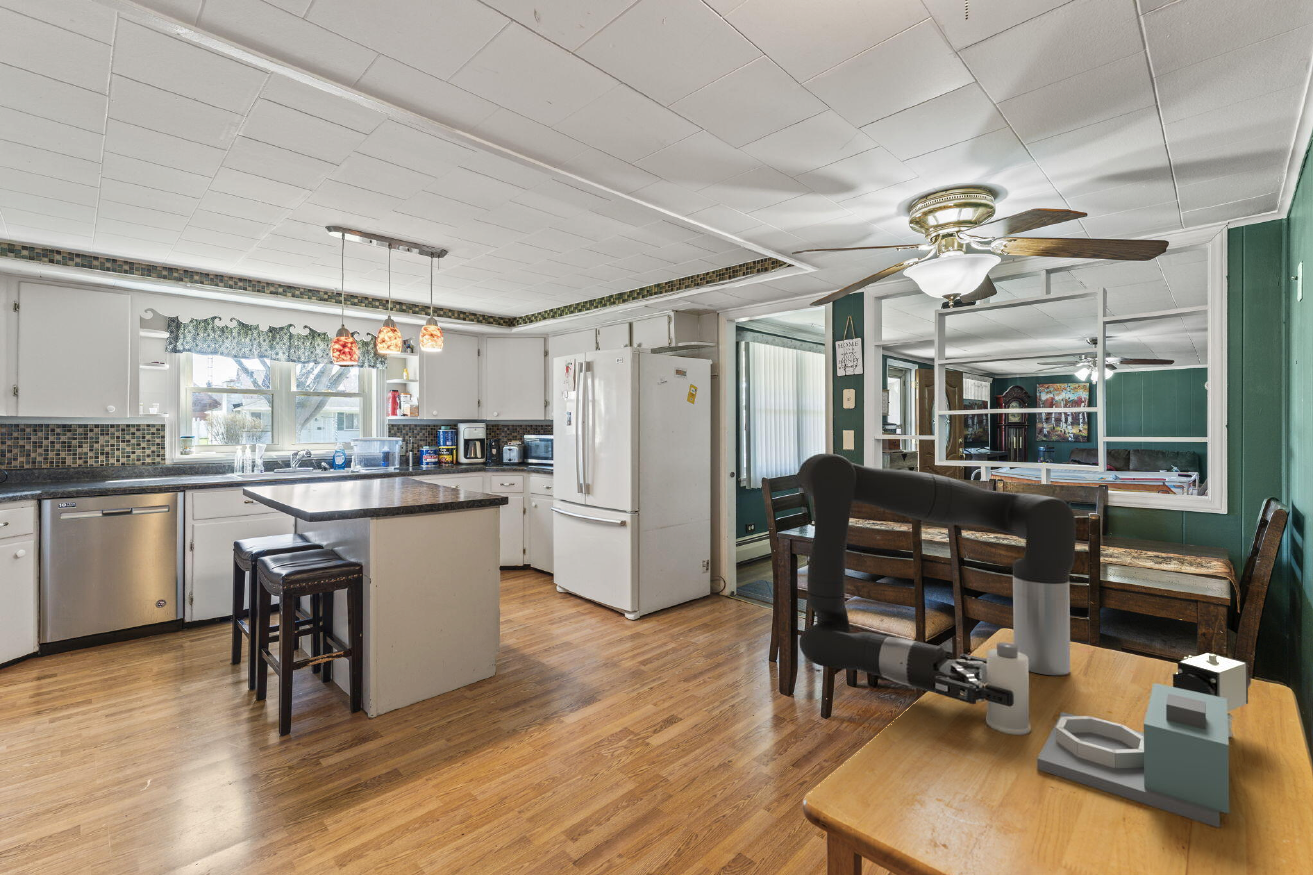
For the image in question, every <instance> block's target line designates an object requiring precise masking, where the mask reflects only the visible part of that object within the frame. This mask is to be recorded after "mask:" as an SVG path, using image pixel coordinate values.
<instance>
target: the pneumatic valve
mask: <svg viewBox="0 0 1313 875" xmlns="http://www.w3.org/2000/svg"><path fill="white" fill-rule="evenodd" d="M1251 684H1252V679H1251V676H1250V673H1249V663H1248V662H1247V661H1243V660H1239V659H1236V658H1231V657H1228V656H1224V655H1220V654H1215V653H1212V652H1206V653H1204V654H1200V655H1197V656H1193V655H1188V656H1184V657H1183V658H1182V660H1181V661H1178V662H1177V672H1176V673H1173V674H1172V687H1175V688H1180V689H1184V690H1189V691H1194V692H1198V693H1203V694H1208V695H1213V696H1217V697H1222V698H1227V717H1228V739H1229V738H1231V737H1234V732H1233V731H1232V728H1233V722H1232V720H1234V716H1233V714H1231V713H1230V712H1231V711H1233V710H1236V709H1238V708H1241V707H1244V706H1246V705H1248V704H1249V688H1250V687H1251Z"/></svg>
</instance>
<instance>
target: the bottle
mask: <svg viewBox="0 0 1313 875" xmlns="http://www.w3.org/2000/svg"><path fill="white" fill-rule="evenodd" d="M986 659H987V683H986V684H987V685H991V686H995V687H999V688H1003V689H1007V690H1011V691H1012V692H1013V694H1014V704H1013V705H1012V706H1011V707H1009V706H1005V705H1002V704H998V703H994V702H990V701H987V700H986V703H987V704H986V706H987V707H986V708H987V710H986V711H987V712H986V715H985V723H986V724H987V725H988V726H989V727H990V728H991V729H993V730H995V731H997V732H1000V733H1003V734H1006V735H1007V734H1008V735H1012V736H1023V735H1024V736H1025V735H1028V734H1030V732H1031V730H1032V728H1031V723H1030V699H1029V697H1030V696H1029V695H1030V694H1029V692H1030V691H1029V687H1030V686H1029V685H1030V684H1029V681H1030V680H1029V671H1028V657H1027V656H1026V655H1024V654H1022V653H1020V652H1018V647H1017V646H1016V645H1014V643H1009V642H997V643H996V648H991V649H990V648H989V649H988V650H987V651H986Z"/></svg>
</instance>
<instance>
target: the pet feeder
mask: <svg viewBox="0 0 1313 875" xmlns="http://www.w3.org/2000/svg"><path fill="white" fill-rule="evenodd" d="M1149 697H1150V698H1149V700H1148V705H1147V708H1146V713H1145V716H1144V720H1143V732H1141V731H1137V730H1134V729H1131V728H1129V727H1128V726H1126V725H1124V724H1120V723H1117V722H1113V721H1109V720H1105V719H1103V718H1098V717H1095V716H1089V715H1083V716H1082V715H1080V716H1079V715H1076V714H1071V713H1069V712H1064V711H1061V712H1060V715H1059V717H1058V719H1057V721H1056V722H1055V725H1054V727H1053V728H1052V730H1051V732H1050V734H1049V736H1048V738H1047V739H1046V741H1045V743H1044V745H1043V747H1042V749H1041V751H1040V752H1039V754H1038V757H1037V758H1036V759H1037V760H1036V761H1037V762H1036V763H1037V764H1036V766H1037V770H1039V771H1041V772H1045V773H1048V774H1052V775H1053V776H1056V777H1060V778H1064V779H1066V780H1068V781H1073V782H1075V783H1078V784H1082V785H1085V786H1088V787H1092V788H1095V789H1096V790H1097V789H1098V790H1099V791H1103V792H1107V793H1109V794H1113V795H1116V796H1120V797H1122V798H1125V799H1128V800H1132V801H1134V802H1137V803H1140V804H1144V805H1147V806H1150V807H1153V808H1156V809H1159V810H1163V811H1166V812H1168V813H1171V814H1175V815H1178V816H1182V817H1184V818H1188V819H1191V820H1193V821H1196V822H1199V823H1203V824H1206V825H1209V826H1213V827H1216V828H1218V829H1220V828H1221V824H1220V823H1221V819H1220V818H1221V816H1220V815H1221V812H1222V813H1225V814H1228V815H1230V771H1229V770H1230V765H1229V764H1230V763H1229V762H1230V761H1229V760H1230V755H1229V754H1230V750H1229V749H1230V748H1229V744H1230V743H1229V738H1228V717H1227V713H1228V712H1227V698H1222V697H1217V696H1213V695H1208V694H1203V693H1198V692H1194V691H1189V690H1184V689H1180V688H1175V687H1173V686H1170V685H1165V684H1159V683H1156V682H1154V683H1153V684H1152V688H1151V692H1150V696H1149Z"/></svg>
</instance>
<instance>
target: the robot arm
mask: <svg viewBox="0 0 1313 875" xmlns="http://www.w3.org/2000/svg"><path fill="white" fill-rule="evenodd" d="M797 476H798V482H799V484H800V486H801V488H802V489H803V490H804V492H805V493H806V494H807V495H809V496H810V497H812V498H813V504H814V514H815V516H814V517H815V519H814V520H815V524H814V535H813V540H812V544H811V548H810V552H809V557H808V564H807V579H806V580H807V585H806V586H807V588H806V589H807V590H806V591H807V593H806V595H807V596H806V597H807V598H806V599H807V604H808V606H809V607H810V608H811V609H812V610H813V611H815V614H816V624H813V625H810V626H808V627H807V628H806V629H804V631H802V633H801V635H800V637H799V642H798V643H799V648H800V650H801V653H802V654H803V655H804V656H805V658H806V659H807V660H809V661H810V662H812V663H813V664H816V665H818V666H822V667H825V668H832V669H839V670H840V669H841V670H842V669H843V670H851V671H852V670H853V671H854V670H855V671H861V672H864V673H868V674H871V675H874V676H879V677H882V678H884V679H888V680H890V681H892V682H895V683H898V684H902V685H905V686H908V687H912V688H915V689H916V688H917V689H920V690H923V691H927V692H931V693H934V694H938V695H941V696H944V697H948V698H951V699H954V700H957V701H961V702H964V703H966V704H971V705H977V701H978V702H984V701H986V702H987V701H990V702H994V703H998V704H1002V705H1005V706H1009V707H1011V706H1012V705H1013V704H1014V694H1013V692H1012V691H1011V690H1007V689H1003V688H999V687H995V686H991V685H987V658H984V657H980V656H976V655H969V654H966V653H961V654H959V658H957V659H953V658H952V659H951V658H949V657H948V655H947V652H946V650H945V649H944V648H943V647H942V646H938V645H934V644H930V643H925V642H922V641H917V640H911V639H909V638H908V639H907V638H902V637H894V636H888V635H882V634H878V633H875V632H874V633H873V632H868V631H859V632H854V633H852V632H851V627H850V621H849V616H848V611H847V608H846V604H845V603H846V602H845V600H846V561H847V560H846V559H847V556H846V555H847V543H848V533H849V532H848V531H849V527H850V526H849V525H850V524H849V523H850V519H851V518H850V517H851V511H852V506H853V502H854V503H855V502H856V503H861V504H865V505H869V506H873V507H876V508H878V509H881V510H884V511H888V512H890V513H894V514H896V515H901V516H904V517H907V518H911V519H915V520H918V521H919V520H921V521H926V522H931V523H936V524H944V525H954V526H966V525H967V526H980V527H985V528H987V529H988V528H989V529H992V530H996V531H1000V532H1002V533H1006V534H1009V535H1011V536H1014V537H1017V538H1018V539H1022V540H1025V548H1024V549H1025V551H1024V555H1023V556H1022V558H1018V559H1015V561H1013V564H1012V600H1013V601H1012V602H1013V603H1012V605H1013V608H1012V612H1013V616H1012V617H1013V626H1012V627H1013V644H1014V645H1016V646H1017V647H1018V652H1020V653H1022V654H1024V655H1026V656H1027V657H1028V672H1031V673H1035V674H1041V675H1046V676H1047V675H1048V676H1065V675H1069V674H1070V672H1071V621H1070V620H1071V615H1070V614H1071V612H1070V607H1071V606H1070V605H1071V604H1070V603H1071V602H1070V599H1071V598H1070V575H1071V574H1070V573H1071V571H1072V569H1073V567H1074V564H1075V557H1076V538H1077V537H1076V536H1077V525H1076V524H1077V523H1076V517H1075V514H1074V511H1073V509H1072V508H1071V506H1070V505H1069V503H1067V501H1065V500H1062V499H1061V498H1057V497H1054V496H1047V495H1042V494H1035V493H1018V492H1017V493H1016V492H1015V493H1014V492H1006V491H1005V492H1004V491H998V490H997V491H996V490H989V489H984V488H981V487H978V486H976V485H973V484H971V483H967V482H965V481H963V480H959V479H955V478H953V477H948V476H944V475H939V474H934V473H929V472H922V471H914V470H908V469H907V470H905V469H893V468H892V469H891V468H878V467H870V466H866V465H861V464H858V463H854V462H851V461H850V460H849V459H847V458H846V457H844V456H843V455H840V454H835V453H817V454H815V455H812V456H810V457H808V458H807V459H806V460H805V461H804V462H803V463H802V464H801V465H800V467H799V469H798V475H797Z"/></svg>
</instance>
